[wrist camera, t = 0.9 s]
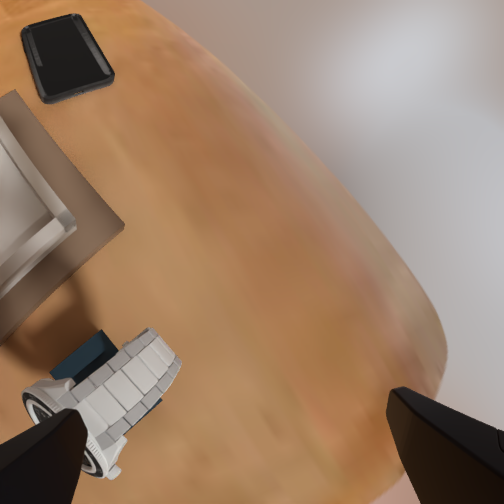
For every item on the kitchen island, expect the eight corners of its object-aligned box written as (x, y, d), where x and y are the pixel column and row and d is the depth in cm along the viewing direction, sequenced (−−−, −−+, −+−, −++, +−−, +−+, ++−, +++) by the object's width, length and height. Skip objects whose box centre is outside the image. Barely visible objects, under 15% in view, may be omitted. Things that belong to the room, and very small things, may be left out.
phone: (79, 12, 27) (118, 78, 26) (77, 19, 28) (116, 86, 27) (19, 28, 22) (42, 102, 22) (19, 35, 23) (42, 110, 23)
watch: (37, 387, 16) (-18, 406, 7) (120, 318, 21) (137, 279, 12) (92, 451, 17) (90, 520, 7) (173, 380, 21) (234, 391, 12)
